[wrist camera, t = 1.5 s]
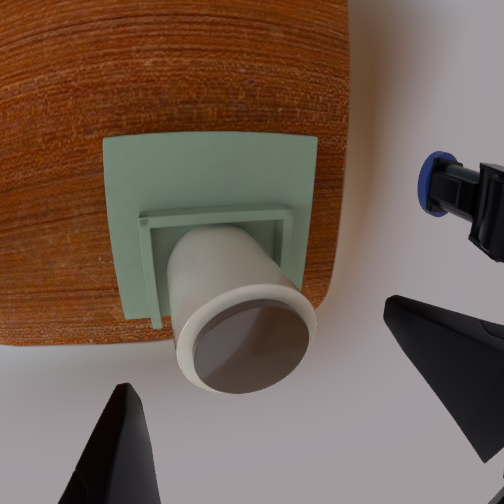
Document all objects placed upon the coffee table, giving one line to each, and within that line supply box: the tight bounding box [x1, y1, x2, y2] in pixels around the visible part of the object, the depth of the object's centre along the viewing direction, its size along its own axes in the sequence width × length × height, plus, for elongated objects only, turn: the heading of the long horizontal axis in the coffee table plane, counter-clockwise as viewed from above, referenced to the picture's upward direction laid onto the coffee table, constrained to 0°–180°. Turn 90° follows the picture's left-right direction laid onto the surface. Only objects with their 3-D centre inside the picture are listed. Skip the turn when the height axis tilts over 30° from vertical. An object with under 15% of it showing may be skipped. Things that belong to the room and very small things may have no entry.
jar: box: [166, 223, 317, 394], centre depth 14 cm, size 6×6×8 cm
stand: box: [103, 131, 318, 329], centre depth 17 cm, size 12×11×4 cm
